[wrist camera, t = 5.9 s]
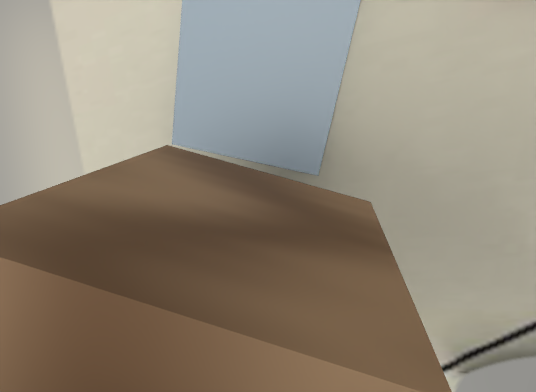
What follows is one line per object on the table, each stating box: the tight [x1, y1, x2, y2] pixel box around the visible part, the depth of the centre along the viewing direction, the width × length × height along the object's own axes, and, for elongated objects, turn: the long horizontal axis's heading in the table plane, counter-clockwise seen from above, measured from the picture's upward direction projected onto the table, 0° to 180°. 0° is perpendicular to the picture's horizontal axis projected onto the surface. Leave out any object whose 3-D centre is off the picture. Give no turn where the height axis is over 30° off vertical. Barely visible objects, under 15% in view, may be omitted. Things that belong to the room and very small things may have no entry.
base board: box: [172, 0, 361, 176], centre depth 23 cm, size 12×14×1 cm
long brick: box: [0, 145, 451, 392], centre depth 8 cm, size 6×10×6 cm, turn 166°
